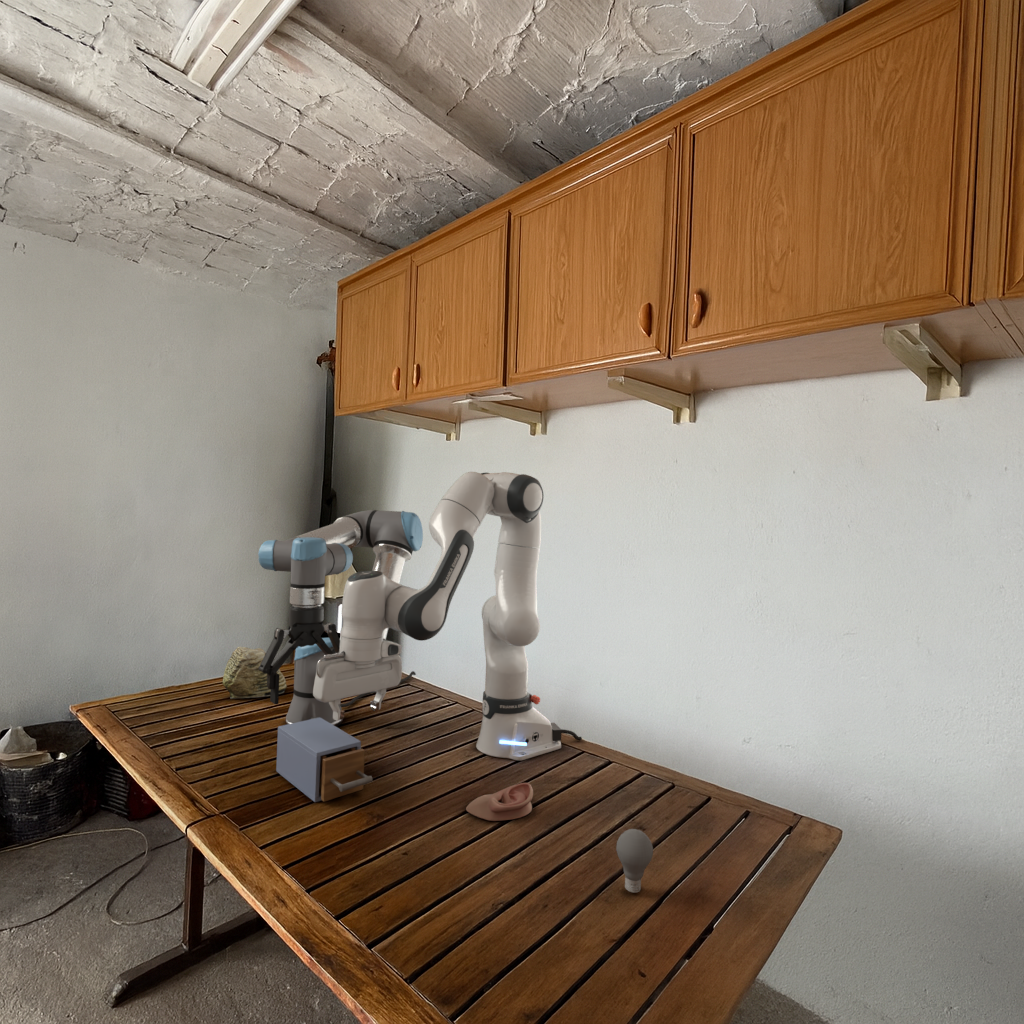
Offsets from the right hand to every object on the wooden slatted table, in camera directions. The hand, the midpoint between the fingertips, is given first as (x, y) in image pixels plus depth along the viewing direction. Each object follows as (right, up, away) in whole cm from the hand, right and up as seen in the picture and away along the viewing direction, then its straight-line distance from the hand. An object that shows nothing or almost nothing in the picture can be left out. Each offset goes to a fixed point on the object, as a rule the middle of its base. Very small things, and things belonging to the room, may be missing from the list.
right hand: (357, 714), depth 133 cm
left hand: (-16, 0, +13) cm, 20 cm away
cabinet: (-11, -18, +9) cm, 23 cm away
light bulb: (+53, -21, -27) cm, 63 cm away
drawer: (-7, -17, +5) cm, 19 cm away
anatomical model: (+30, -20, -1) cm, 36 cm away
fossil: (-48, -15, +65) cm, 83 cm away
